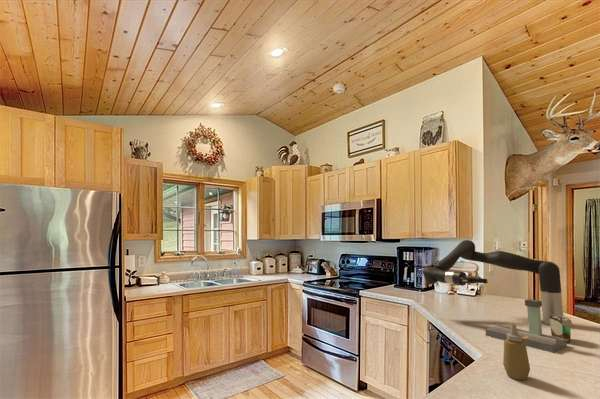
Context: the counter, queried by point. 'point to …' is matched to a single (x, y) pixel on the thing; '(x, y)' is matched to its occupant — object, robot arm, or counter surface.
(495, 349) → the counter surface
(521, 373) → the squeeze bottle
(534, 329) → the fader tab
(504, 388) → the counter surface
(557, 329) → the food container
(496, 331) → the slider console
